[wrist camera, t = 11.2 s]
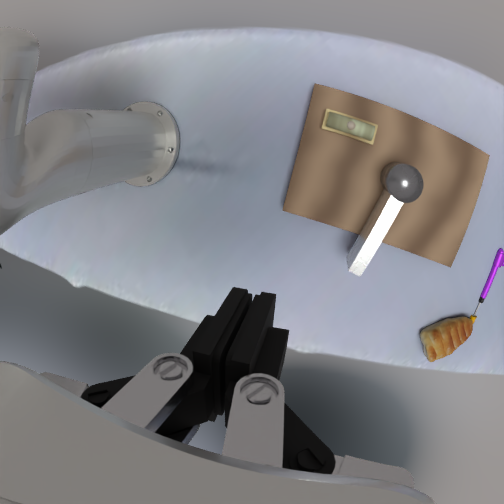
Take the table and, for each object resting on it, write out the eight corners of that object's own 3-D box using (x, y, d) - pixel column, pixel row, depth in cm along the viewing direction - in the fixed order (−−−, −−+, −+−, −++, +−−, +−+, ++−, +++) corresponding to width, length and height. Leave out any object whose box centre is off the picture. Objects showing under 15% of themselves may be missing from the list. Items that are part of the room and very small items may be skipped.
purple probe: (497, 247, 31) (458, 335, 37) (502, 250, 30) (461, 340, 36) (506, 249, 31) (468, 335, 37) (510, 252, 30) (471, 339, 36)
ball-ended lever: (389, 155, 29) (398, 157, 25) (417, 172, 29) (429, 177, 25) (337, 252, 35) (339, 267, 31) (364, 266, 35) (369, 282, 31)
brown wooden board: (284, 206, 37) (278, 216, 33) (315, 86, 30) (314, 78, 26) (445, 261, 34) (458, 276, 29) (482, 154, 27) (500, 157, 23)
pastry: (466, 303, 35) (475, 316, 31) (472, 332, 36) (479, 346, 33) (415, 329, 38) (421, 345, 35) (425, 356, 40) (429, 372, 36)
